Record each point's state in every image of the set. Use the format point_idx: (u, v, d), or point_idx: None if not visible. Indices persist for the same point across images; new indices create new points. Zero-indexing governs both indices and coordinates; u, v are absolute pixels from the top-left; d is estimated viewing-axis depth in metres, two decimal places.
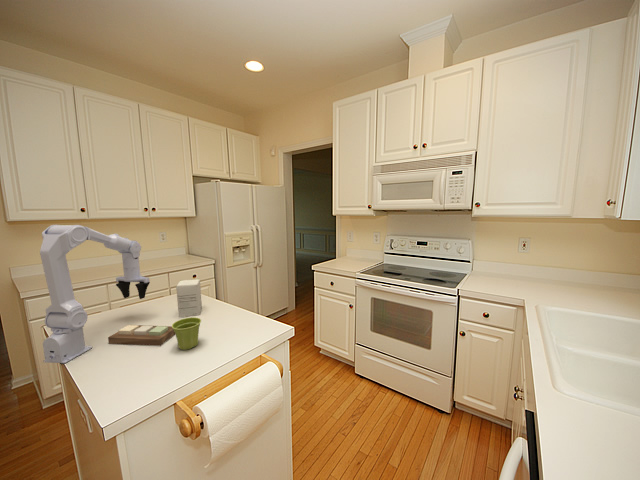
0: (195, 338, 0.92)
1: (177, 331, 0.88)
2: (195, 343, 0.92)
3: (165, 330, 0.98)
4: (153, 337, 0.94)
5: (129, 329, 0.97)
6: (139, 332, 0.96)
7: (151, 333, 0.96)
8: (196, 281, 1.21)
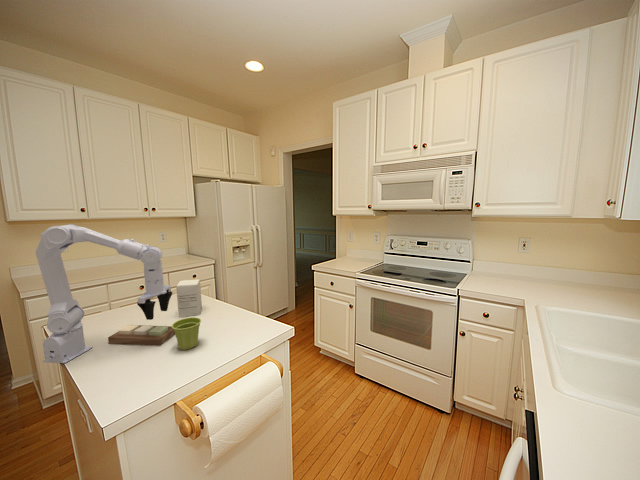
0: (195, 338, 0.92)
1: (177, 331, 0.88)
2: (195, 343, 0.92)
3: (165, 330, 0.98)
4: (153, 337, 0.94)
5: (129, 329, 0.97)
6: (139, 332, 0.96)
7: (151, 333, 0.96)
8: (196, 281, 1.21)
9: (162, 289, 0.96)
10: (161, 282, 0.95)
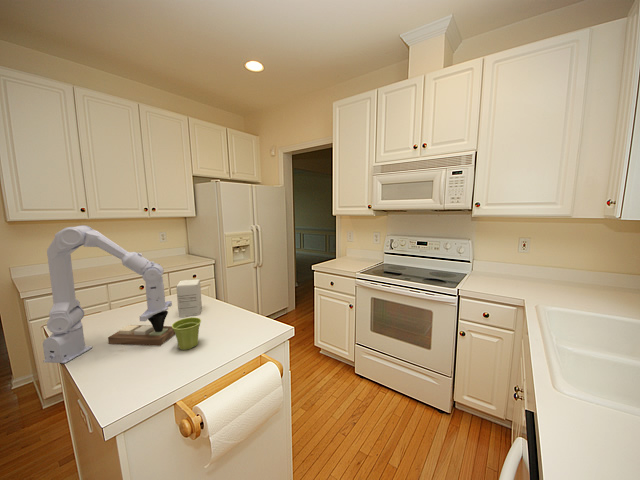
0: (195, 338, 0.92)
1: (177, 331, 0.88)
2: (195, 343, 0.92)
3: None
4: (153, 337, 0.94)
5: (129, 329, 0.97)
6: (139, 332, 0.96)
7: None
8: (196, 281, 1.21)
9: (164, 306, 0.96)
10: (163, 299, 0.96)
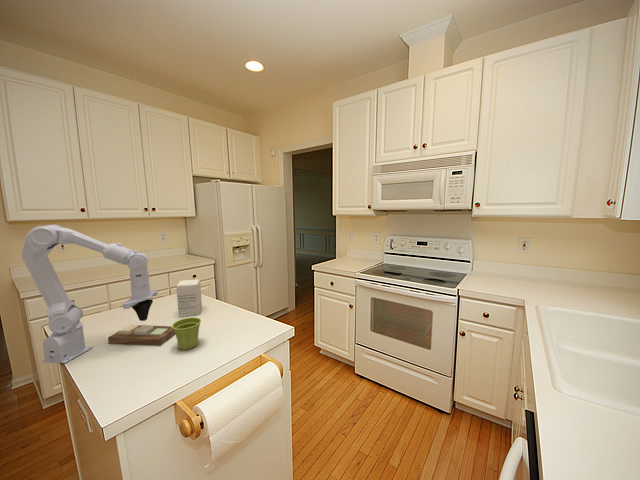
0: (195, 338, 0.92)
1: (177, 331, 0.88)
2: (195, 343, 0.92)
3: None
4: (153, 337, 0.94)
5: (129, 329, 0.97)
6: (139, 332, 0.96)
7: None
8: (196, 281, 1.21)
9: (148, 294, 0.96)
10: (147, 287, 0.96)
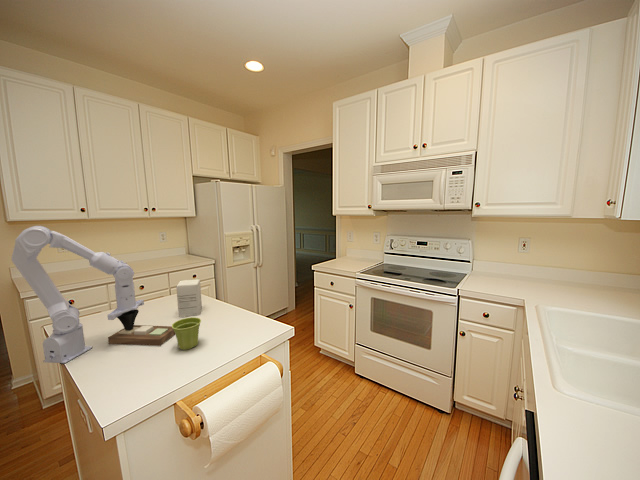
0: (195, 338, 0.92)
1: (177, 331, 0.88)
2: (195, 343, 0.92)
3: None
4: (153, 337, 0.94)
5: (129, 331, 0.97)
6: (139, 332, 0.96)
7: None
8: (196, 281, 1.21)
9: (133, 305, 0.97)
10: (132, 298, 0.97)
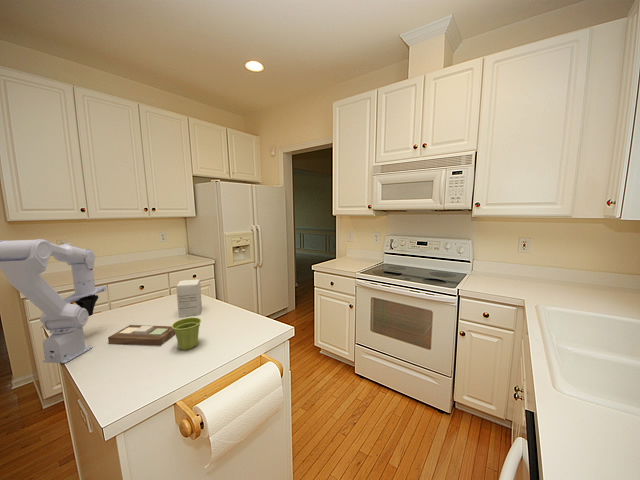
0: (195, 338, 0.92)
1: (177, 331, 0.88)
2: (195, 343, 0.92)
3: None
4: (153, 337, 0.94)
5: (129, 331, 0.97)
6: (139, 332, 0.96)
7: None
8: (196, 281, 1.21)
9: (92, 290, 0.96)
10: (90, 283, 0.96)
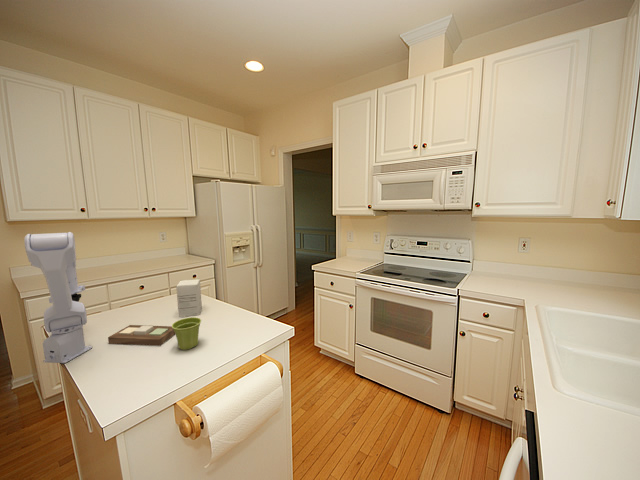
0: (195, 338, 0.92)
1: (177, 331, 0.88)
2: (195, 343, 0.92)
3: None
4: (153, 337, 0.94)
5: (129, 331, 0.97)
6: (139, 332, 0.96)
7: None
8: (196, 281, 1.21)
9: (76, 288, 0.97)
10: (75, 281, 0.96)
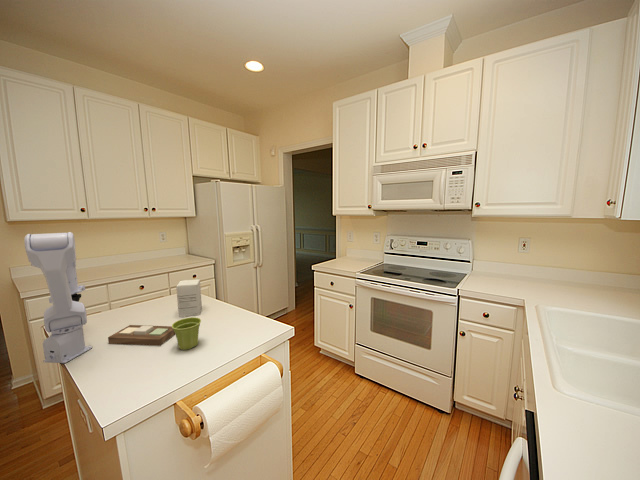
0: (195, 338, 0.92)
1: (177, 331, 0.88)
2: (195, 343, 0.92)
3: None
4: (153, 337, 0.94)
5: (129, 331, 0.97)
6: (139, 332, 0.96)
7: None
8: (196, 281, 1.21)
9: (76, 288, 0.97)
10: (75, 281, 0.96)
